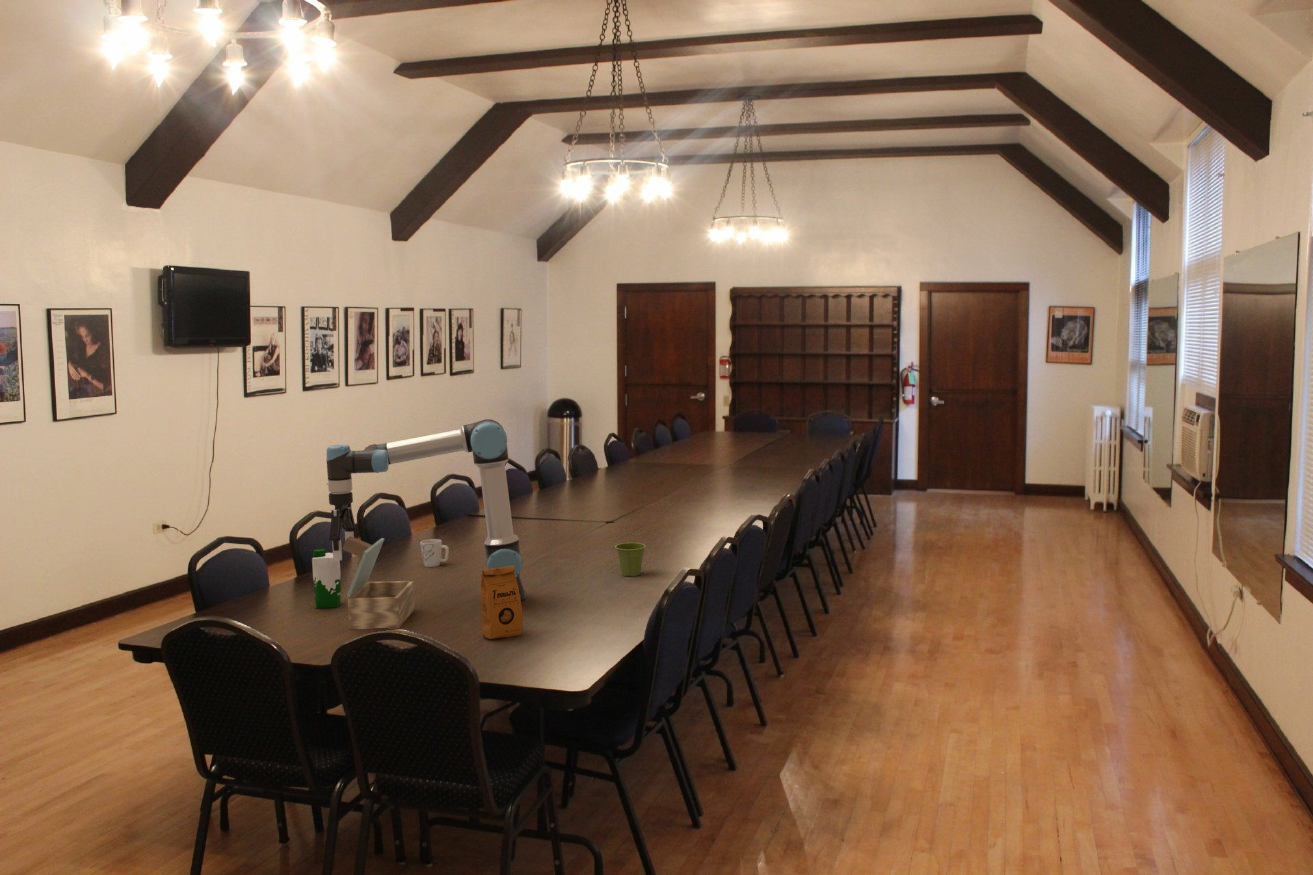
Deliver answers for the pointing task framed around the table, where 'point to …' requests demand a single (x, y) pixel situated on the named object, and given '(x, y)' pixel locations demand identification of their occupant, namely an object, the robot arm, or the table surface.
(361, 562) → the lid
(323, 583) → the milk carton
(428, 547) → the mug
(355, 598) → the box
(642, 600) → the table surface
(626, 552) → the plant pot
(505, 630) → the coffee package
